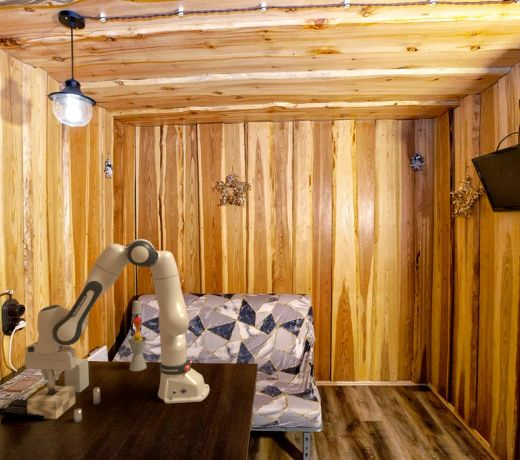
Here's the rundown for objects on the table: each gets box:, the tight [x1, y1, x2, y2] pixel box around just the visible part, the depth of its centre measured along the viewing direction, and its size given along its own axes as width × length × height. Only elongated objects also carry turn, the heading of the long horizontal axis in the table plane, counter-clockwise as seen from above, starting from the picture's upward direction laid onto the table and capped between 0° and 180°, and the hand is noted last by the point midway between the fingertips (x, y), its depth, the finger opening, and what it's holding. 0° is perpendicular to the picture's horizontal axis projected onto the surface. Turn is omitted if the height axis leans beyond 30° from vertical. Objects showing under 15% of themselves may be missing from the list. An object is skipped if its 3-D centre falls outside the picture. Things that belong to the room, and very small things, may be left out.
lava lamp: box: [127, 300, 147, 372], centre depth 183 cm, size 9×9×35 cm
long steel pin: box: [46, 370, 56, 396], centre depth 143 cm, size 3×3×12 cm
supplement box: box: [63, 358, 90, 393], centre depth 161 cm, size 7×7×13 cm
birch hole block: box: [26, 385, 76, 420], centre depth 143 cm, size 12×12×7 cm
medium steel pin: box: [92, 386, 101, 405], centre depth 149 cm, size 3×3×6 cm
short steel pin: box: [73, 407, 83, 423], centre depth 136 cm, size 3×3×4 cm
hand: (51, 379), depth 143 cm, fingers closed on long steel pin, 3 cm apart
